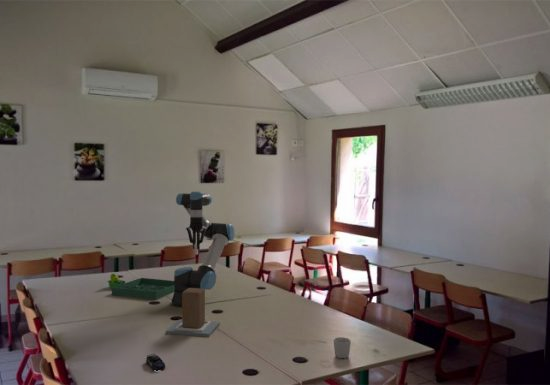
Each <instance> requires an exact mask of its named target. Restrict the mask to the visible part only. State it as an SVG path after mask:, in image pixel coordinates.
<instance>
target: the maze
mask: <svg viewBox="0 0 550 385" xmlns="http://www.w3.org/2000/svg"><path fill="white" fill-rule="evenodd" d="M171 294H174V280H168V279H156V278H150V277H149V278H147V277H146V278H145V277H140V278H137V279H134V280H133V279H132V280H131V281H128V282H125V283H124V284H121V285H118V286H115V287H112V288H111V296H117V295H119V296H118V297H127V298H128V297H129V298H136V299H144V300H145V299H147V300H155V301H156V300H158V299H162V298H164V297H166V296H169V295H171Z"/></svg>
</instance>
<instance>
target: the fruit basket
mask: <svg viewBox="0 0 550 385" xmlns="http://www.w3.org/2000/svg"><path fill="white" fill-rule="evenodd" d="M109 278H110V280H107V284H108V285H109V288H110V287H111V288H110V289H112V287H115V286H118V285H121V284H124V283H126V280H122V279H119V276H118V275H116V274H115V273H111V274H110V276H109Z"/></svg>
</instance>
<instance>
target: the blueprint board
mask: <svg viewBox="0 0 550 385" xmlns="http://www.w3.org/2000/svg"><path fill="white" fill-rule="evenodd" d="M220 326H221V322H220V321H210V320H205V323H204V325H203V326H202V327H200V328H199V329H192V328H183V327H182V319H178V320H177V321H175V322H174V323H173V324H172V325H171V326H170V327H168V328H167V329H166V330H165V334H167V335H178V336H179V335H181V336H183V335H184V336H196V337H211V335H212V334H213V333H214V332H215V331H216V330H217V329H218V328H219V327H220Z"/></svg>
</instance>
